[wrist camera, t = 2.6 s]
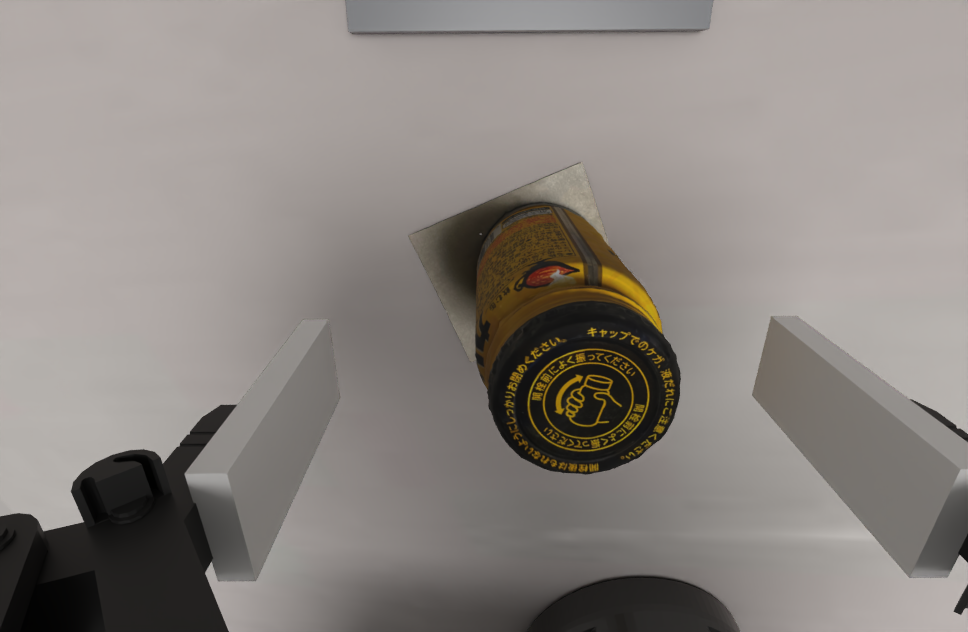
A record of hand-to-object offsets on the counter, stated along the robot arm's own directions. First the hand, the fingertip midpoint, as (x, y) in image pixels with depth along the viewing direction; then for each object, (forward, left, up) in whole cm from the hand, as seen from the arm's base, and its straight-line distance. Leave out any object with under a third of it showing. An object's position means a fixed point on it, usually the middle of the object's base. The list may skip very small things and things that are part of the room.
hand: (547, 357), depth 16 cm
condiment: (0, 0, -10) cm, 10 cm away
